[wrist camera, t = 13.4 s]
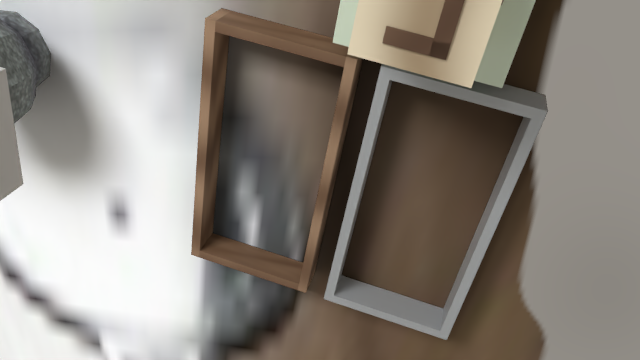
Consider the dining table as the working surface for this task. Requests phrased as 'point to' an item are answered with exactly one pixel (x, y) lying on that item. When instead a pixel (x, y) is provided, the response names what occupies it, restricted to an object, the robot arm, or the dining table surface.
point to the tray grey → (443, 318)
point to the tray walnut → (210, 137)
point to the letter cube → (425, 35)
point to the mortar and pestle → (22, 60)
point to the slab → (498, 47)
